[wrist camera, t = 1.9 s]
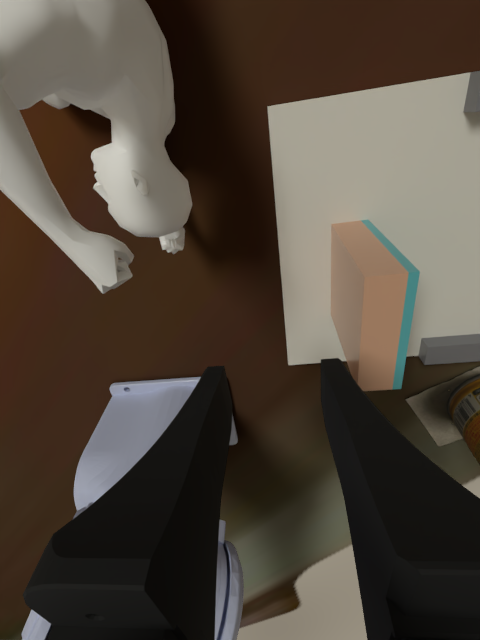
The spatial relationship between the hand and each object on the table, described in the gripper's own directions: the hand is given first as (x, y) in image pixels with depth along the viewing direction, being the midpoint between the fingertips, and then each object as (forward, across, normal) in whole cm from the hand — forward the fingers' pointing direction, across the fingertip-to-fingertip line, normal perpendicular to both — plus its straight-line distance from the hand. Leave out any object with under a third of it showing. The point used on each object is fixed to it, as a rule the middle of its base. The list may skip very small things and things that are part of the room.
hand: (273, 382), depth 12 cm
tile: (+10, -5, 0) cm, 11 cm away
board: (+10, -10, 0) cm, 14 cm away
